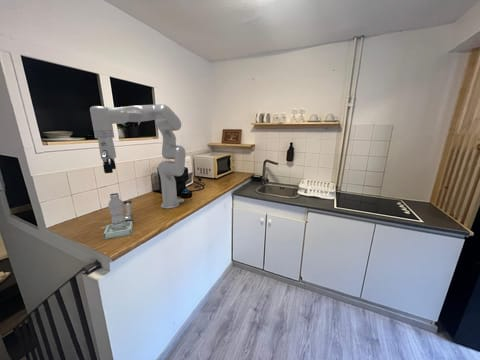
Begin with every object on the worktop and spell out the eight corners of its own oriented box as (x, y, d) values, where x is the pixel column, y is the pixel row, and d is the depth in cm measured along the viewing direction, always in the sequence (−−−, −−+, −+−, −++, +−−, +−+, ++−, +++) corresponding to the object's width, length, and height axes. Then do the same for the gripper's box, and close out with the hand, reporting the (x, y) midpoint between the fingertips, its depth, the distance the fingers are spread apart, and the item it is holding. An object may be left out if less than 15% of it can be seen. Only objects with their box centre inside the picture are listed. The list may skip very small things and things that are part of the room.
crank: (131, 220, 112) (129, 207, 110) (122, 222, 110) (120, 209, 108) (133, 211, 124) (131, 199, 122) (124, 212, 123) (123, 201, 121)
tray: (132, 225, 111) (132, 221, 110) (131, 234, 101) (130, 229, 100) (108, 230, 106) (107, 224, 105) (104, 239, 97) (103, 234, 96)
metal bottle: (116, 227, 107) (110, 192, 102) (129, 227, 107) (124, 192, 102) (109, 234, 100) (103, 196, 95) (123, 233, 101) (117, 196, 96)
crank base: (134, 220, 117) (133, 217, 117) (133, 225, 112) (133, 221, 111) (101, 225, 111) (101, 222, 110) (99, 230, 105) (98, 227, 105)
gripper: (110, 135, 85) (117, 173, 90) (116, 134, 101) (121, 167, 105) (89, 135, 83) (97, 175, 87) (98, 134, 98) (104, 168, 102)
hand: (110, 170), depth 96 cm, fingers open, 9 cm apart
